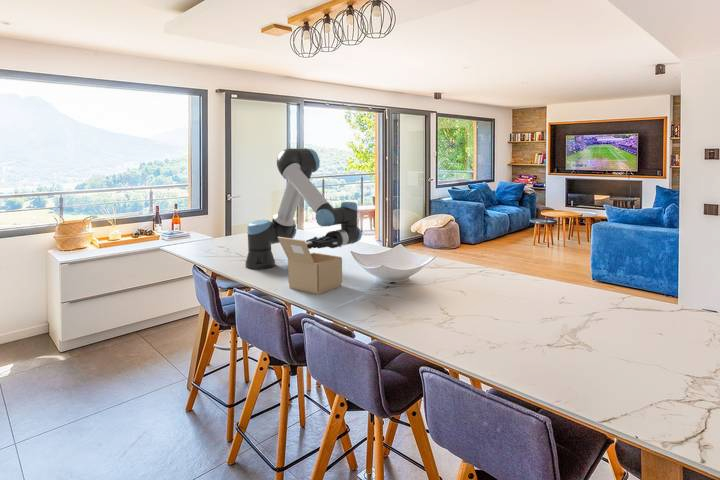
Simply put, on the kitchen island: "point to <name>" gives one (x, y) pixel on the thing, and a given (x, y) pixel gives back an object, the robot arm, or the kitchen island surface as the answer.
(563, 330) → the kitchen island surface
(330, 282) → the carton
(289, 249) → the front flap
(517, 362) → the kitchen island surface
